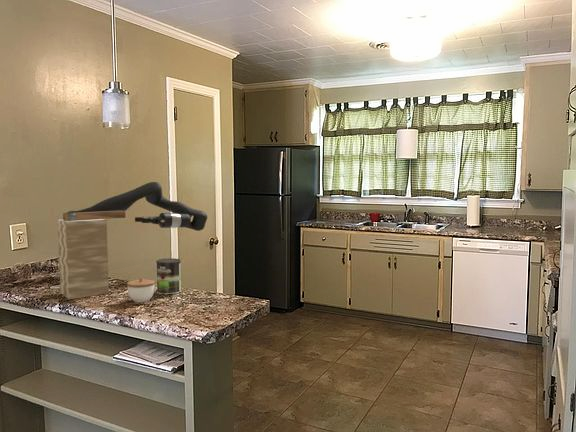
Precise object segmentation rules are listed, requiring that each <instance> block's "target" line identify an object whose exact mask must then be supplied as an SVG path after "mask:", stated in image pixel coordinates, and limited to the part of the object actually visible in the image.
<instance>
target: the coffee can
mask: <svg viewBox="0 0 576 432" xmlns="http://www.w3.org/2000/svg"><path fill="white" fill-rule="evenodd" d="M155 262H156V288H157V289H156V291H157V294H158V295H161V294H165V295H164V296H168V295H167V294H173V295H176V294H175V293H178V294H180V293H181V292H182V289H181V288H182V281H181V280H182V278H181V277H182V276H181V275H182V274H181V270H182V269H181V264H182V263H181V262H182V260H181V259H180V258H173V257H172V258H161V259H157V260H156V261H155ZM179 292H180V293H179Z"/></svg>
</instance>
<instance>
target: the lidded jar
mask: <svg viewBox="0 0 576 432" xmlns="http://www.w3.org/2000/svg"><path fill="white" fill-rule="evenodd" d="M155 283H156V281H155V280H154V279H146V278H143V277H139V279H134V280H133V279H132V280H129V281H128V282H127V283H126V285H127V293H128V297H129V298H130V299H131V300H132V301H133V302H134V303H139V304H141V303H146V302H149V301H150V299H151V298H152V297H153V295H154V293H155V287H156V286H155Z"/></svg>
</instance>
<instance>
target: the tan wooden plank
mask: <svg viewBox="0 0 576 432" xmlns="http://www.w3.org/2000/svg"><path fill="white" fill-rule="evenodd" d="M126 217H127V216H126V211H101V212H79V213H67V212H63V213H62V219H63V220H64V221H75V220H92V219H106V220H107V219H123V218H126Z"/></svg>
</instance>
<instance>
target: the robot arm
mask: <svg viewBox="0 0 576 432" xmlns="http://www.w3.org/2000/svg"><path fill="white" fill-rule="evenodd" d="M143 198H145V201H147V203H149V204H151V205H154V206H156V207H159V208H160V209H163V210H166V211H168V212H161V213H160V214H159V215H158V216H157V215H153V216H150V215H149V216H142V217H141V216H139V217H138V216H136V217H134V222H135V223H142V224H151V225H158V226H159V227H160V228H161V229H175V228H177V229H178V228H185V229H190V230H194V231H197V232H199V231H202V230H204V229H205V226H206V223H207V220H208V214H207V213H206V212H205V211H204V210H200V209H195V208H192V207H190V206H188V205H186V204H184V203H183V202H182V201H174V200H169V199H167V197H165V196H164V195H163V189H162V185H161V183H160V182H157V181H150V182H147V183H145V184H142V185H140V186H138V187H136V188H134V189H130V190H129V191H126V192H123V193H121V194H117V195H114V196H112V197H109V198H106V199H103V200H101V201H100V202H97V203H95V204H94V205H92V206H89V207H87V208H83V209H79V210H69V211H67V212H66V213H79V212H101V211H125V212H126V211H127V210H129V209H130V207H131V206H133V205H134V204H135V203H137V201H140V200H141V199H143ZM192 216H193V217H192Z"/></svg>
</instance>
